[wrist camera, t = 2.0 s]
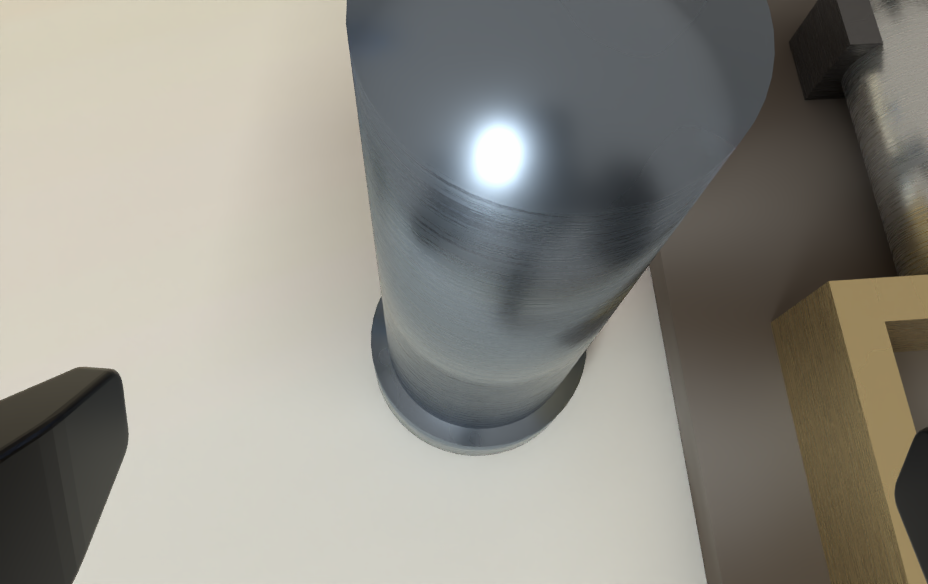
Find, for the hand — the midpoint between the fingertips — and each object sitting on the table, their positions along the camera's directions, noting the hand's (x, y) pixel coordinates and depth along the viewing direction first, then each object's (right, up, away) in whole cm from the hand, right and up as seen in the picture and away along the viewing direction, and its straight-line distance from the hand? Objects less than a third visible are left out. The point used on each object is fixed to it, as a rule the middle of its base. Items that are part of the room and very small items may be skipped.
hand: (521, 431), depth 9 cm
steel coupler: (0, 0, +11) cm, 11 cm away
